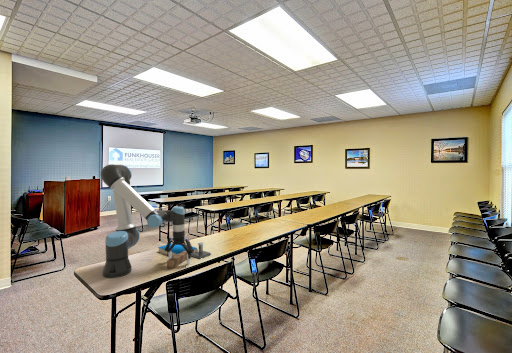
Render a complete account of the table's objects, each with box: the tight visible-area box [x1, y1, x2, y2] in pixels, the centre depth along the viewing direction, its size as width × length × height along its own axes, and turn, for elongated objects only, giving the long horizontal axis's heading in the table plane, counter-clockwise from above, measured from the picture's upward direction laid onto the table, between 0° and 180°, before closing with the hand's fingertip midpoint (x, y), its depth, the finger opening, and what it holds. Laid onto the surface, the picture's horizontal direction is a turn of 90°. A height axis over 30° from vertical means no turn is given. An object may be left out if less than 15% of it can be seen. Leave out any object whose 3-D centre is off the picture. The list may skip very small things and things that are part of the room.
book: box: [157, 242, 199, 258], centre depth 186 cm, size 17×4×25 cm
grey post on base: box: [191, 242, 212, 260], centre depth 178 cm, size 10×10×9 cm
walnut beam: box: [166, 251, 188, 270], centre depth 164 cm, size 20×4×5 cm, turn 165°
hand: (179, 262), depth 164 cm, fingers open, 13 cm apart
